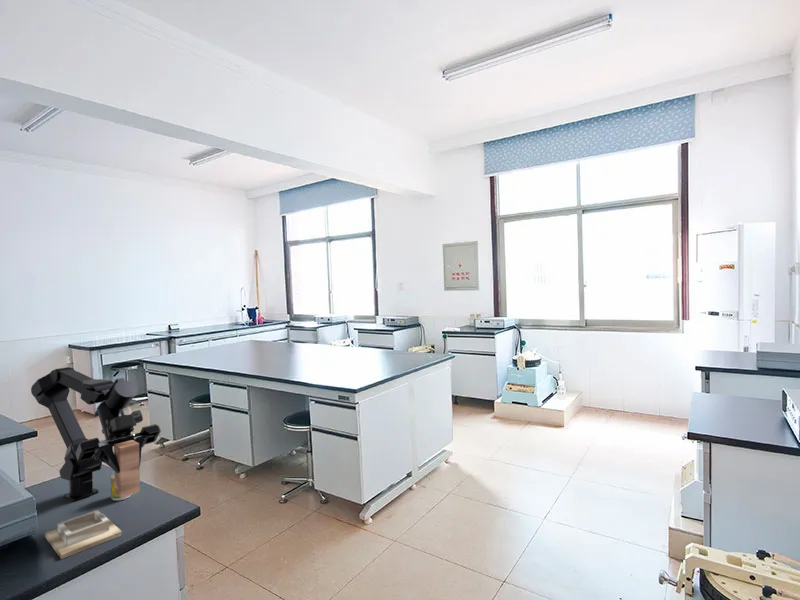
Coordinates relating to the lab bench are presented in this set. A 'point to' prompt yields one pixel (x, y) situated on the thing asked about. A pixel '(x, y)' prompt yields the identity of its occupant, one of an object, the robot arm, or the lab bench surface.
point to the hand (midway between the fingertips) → (129, 469)
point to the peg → (127, 468)
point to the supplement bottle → (113, 495)
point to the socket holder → (82, 533)
